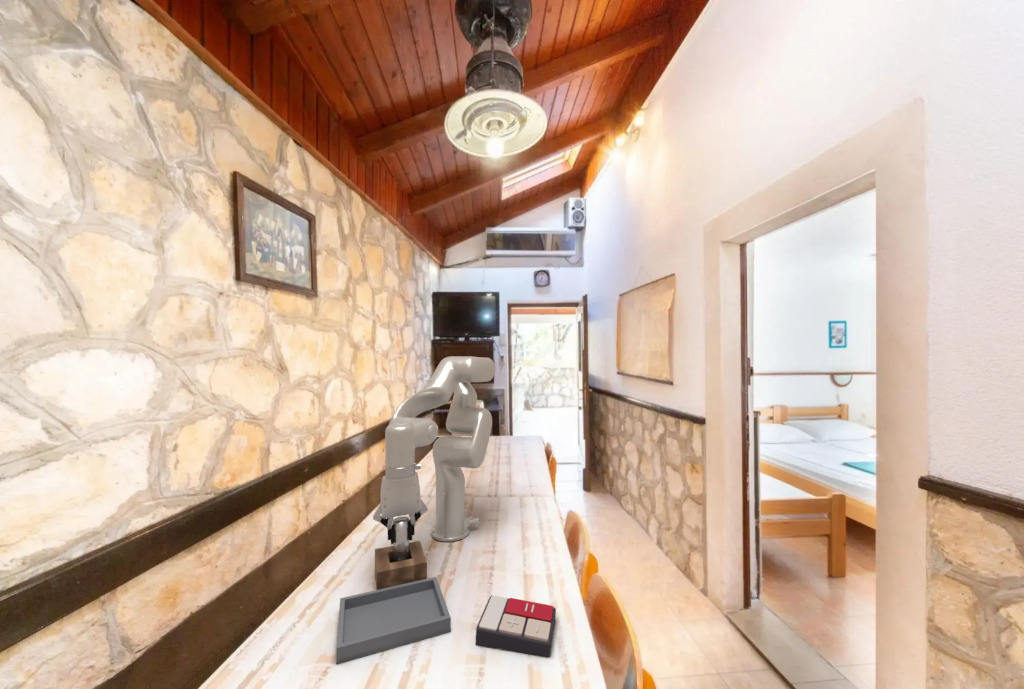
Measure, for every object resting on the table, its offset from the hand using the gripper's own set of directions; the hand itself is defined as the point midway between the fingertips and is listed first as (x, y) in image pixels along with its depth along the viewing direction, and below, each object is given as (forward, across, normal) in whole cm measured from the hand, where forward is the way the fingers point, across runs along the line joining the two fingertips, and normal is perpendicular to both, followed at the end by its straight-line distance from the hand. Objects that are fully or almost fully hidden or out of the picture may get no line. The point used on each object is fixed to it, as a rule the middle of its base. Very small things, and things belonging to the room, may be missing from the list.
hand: (401, 539), depth 100 cm
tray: (+10, +4, +16) cm, 19 cm away
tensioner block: (+10, 0, 0) cm, 10 cm away
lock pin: (+7, 0, 0) cm, 7 cm away
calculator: (+10, -21, +30) cm, 38 cm away
